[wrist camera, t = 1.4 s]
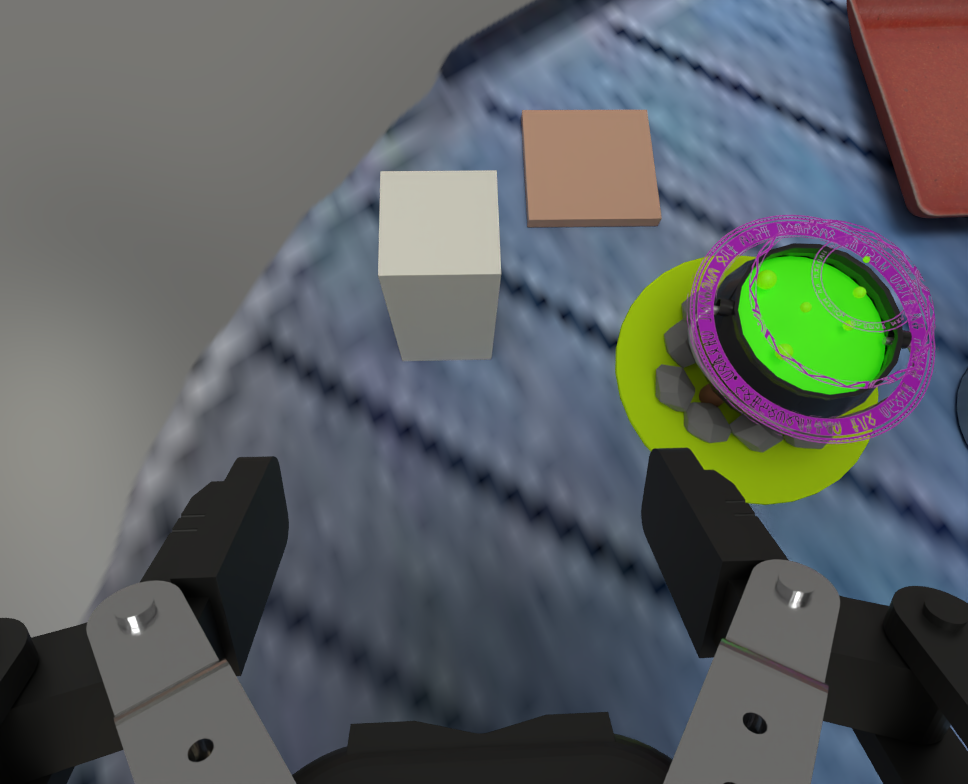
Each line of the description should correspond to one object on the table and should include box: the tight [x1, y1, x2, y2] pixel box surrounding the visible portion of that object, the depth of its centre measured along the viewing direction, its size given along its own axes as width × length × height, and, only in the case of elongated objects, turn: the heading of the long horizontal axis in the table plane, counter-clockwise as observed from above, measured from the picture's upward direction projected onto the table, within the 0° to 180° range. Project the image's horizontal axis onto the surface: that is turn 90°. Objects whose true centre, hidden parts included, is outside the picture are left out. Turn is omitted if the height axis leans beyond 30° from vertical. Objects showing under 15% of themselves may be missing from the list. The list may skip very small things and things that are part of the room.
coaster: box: [521, 110, 662, 227], centre depth 38 cm, size 8×8×1 cm
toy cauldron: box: [615, 215, 936, 505], centre depth 30 cm, size 15×15×11 cm
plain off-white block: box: [378, 171, 501, 361], centre depth 30 cm, size 5×5×10 cm
